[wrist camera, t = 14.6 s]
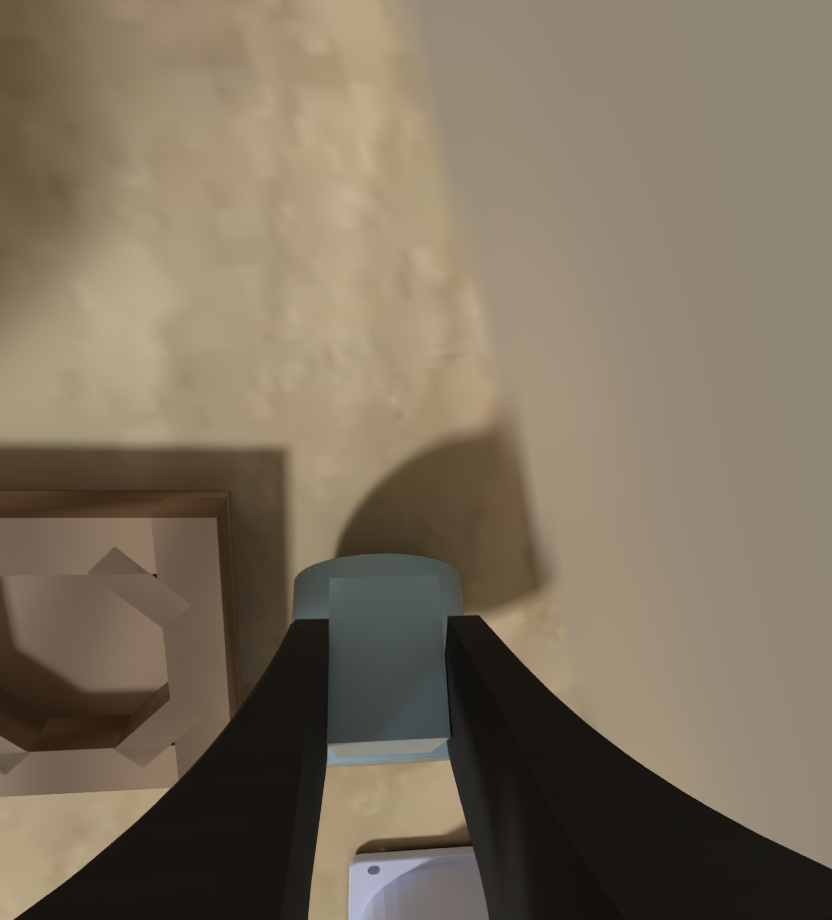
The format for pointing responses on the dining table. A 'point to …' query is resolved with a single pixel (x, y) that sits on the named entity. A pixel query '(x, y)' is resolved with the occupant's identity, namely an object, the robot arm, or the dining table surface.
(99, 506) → the holder
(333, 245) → the dining table surface
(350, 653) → the light blue piece
